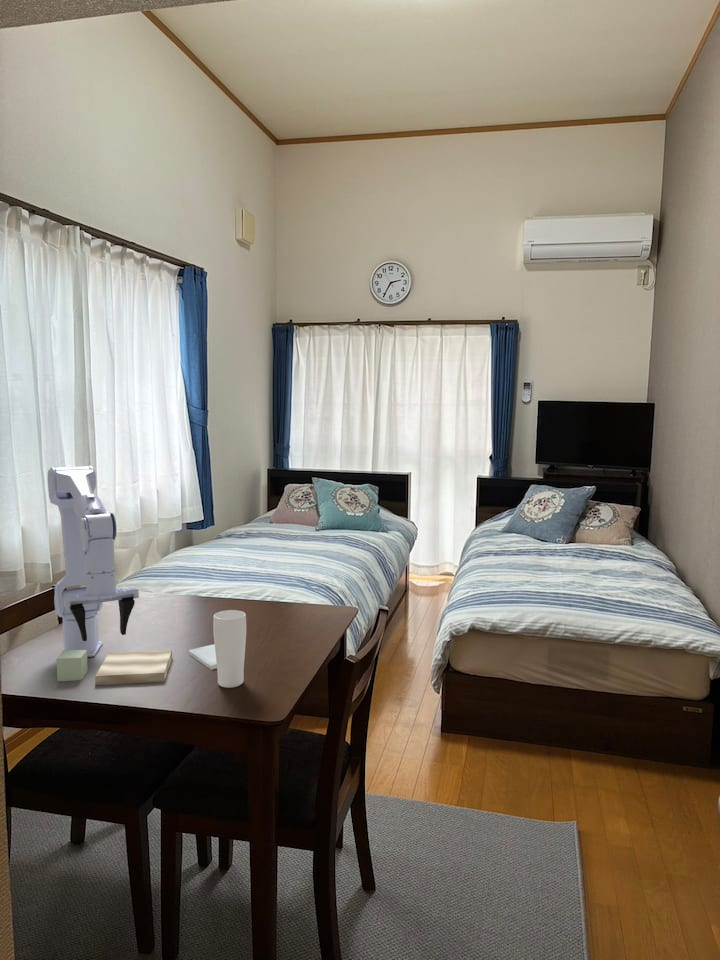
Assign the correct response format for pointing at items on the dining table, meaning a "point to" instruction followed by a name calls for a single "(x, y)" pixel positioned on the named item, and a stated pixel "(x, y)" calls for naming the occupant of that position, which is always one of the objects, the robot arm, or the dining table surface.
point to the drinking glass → (230, 646)
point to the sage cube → (72, 665)
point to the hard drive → (205, 656)
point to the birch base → (134, 667)
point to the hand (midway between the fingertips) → (104, 636)
